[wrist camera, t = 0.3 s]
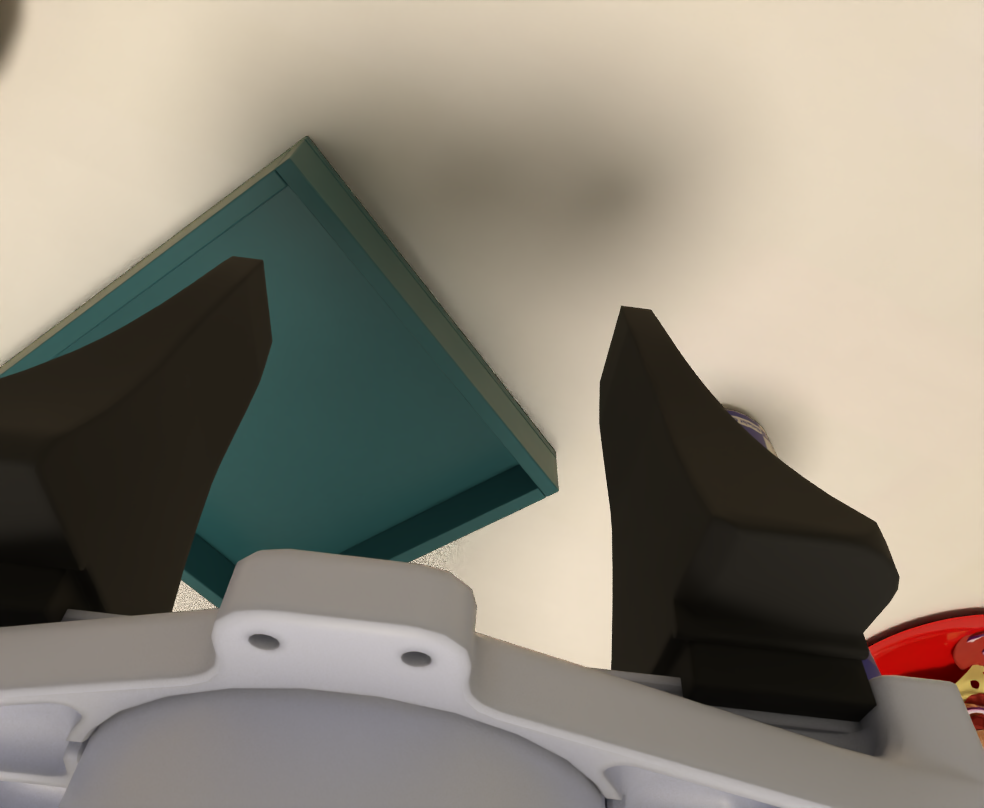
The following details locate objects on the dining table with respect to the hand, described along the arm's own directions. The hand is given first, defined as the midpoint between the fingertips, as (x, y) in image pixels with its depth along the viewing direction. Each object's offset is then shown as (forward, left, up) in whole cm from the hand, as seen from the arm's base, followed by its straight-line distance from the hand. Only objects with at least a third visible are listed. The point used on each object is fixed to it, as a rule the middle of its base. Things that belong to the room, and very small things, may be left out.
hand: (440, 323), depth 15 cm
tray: (-12, -4, -11) cm, 16 cm away
